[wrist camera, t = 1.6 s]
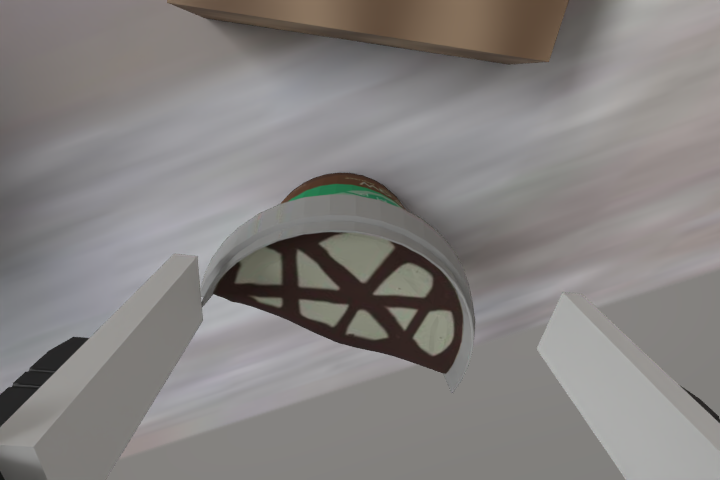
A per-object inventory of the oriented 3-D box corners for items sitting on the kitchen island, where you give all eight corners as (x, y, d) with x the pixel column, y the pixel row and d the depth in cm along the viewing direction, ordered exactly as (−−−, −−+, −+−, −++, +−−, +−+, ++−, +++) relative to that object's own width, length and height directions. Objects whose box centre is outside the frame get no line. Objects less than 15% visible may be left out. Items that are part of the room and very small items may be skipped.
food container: (466, 203, 22) (551, 292, 13) (418, 277, 24) (462, 396, 15) (285, 115, 19) (234, 150, 10) (250, 208, 22) (183, 303, 12)
